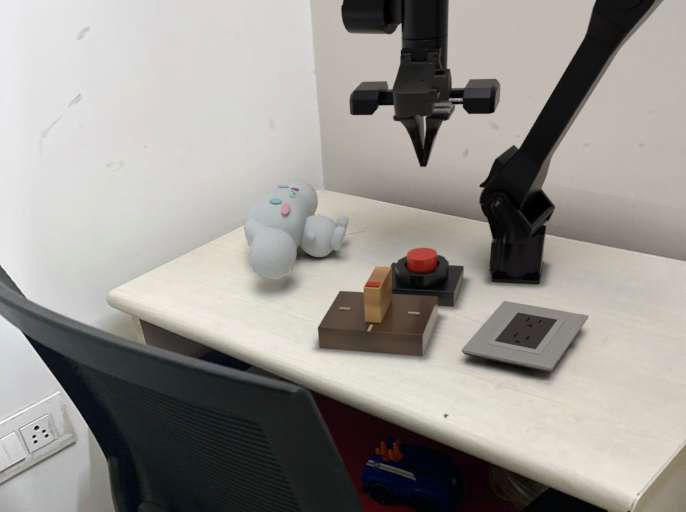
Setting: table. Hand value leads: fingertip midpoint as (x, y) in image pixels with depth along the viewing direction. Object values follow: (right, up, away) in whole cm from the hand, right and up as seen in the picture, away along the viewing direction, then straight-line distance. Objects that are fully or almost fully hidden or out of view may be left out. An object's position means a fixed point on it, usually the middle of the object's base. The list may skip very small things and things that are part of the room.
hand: (423, 166), depth 105 cm
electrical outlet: (+10, -28, -13) cm, 32 cm away
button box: (0, -17, 0) cm, 17 cm away
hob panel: (-7, -24, -7) cm, 26 cm away
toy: (-17, -8, +13) cm, 23 cm away
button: (-1, -14, -2) cm, 15 cm away
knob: (-7, -22, -9) cm, 25 cm away
